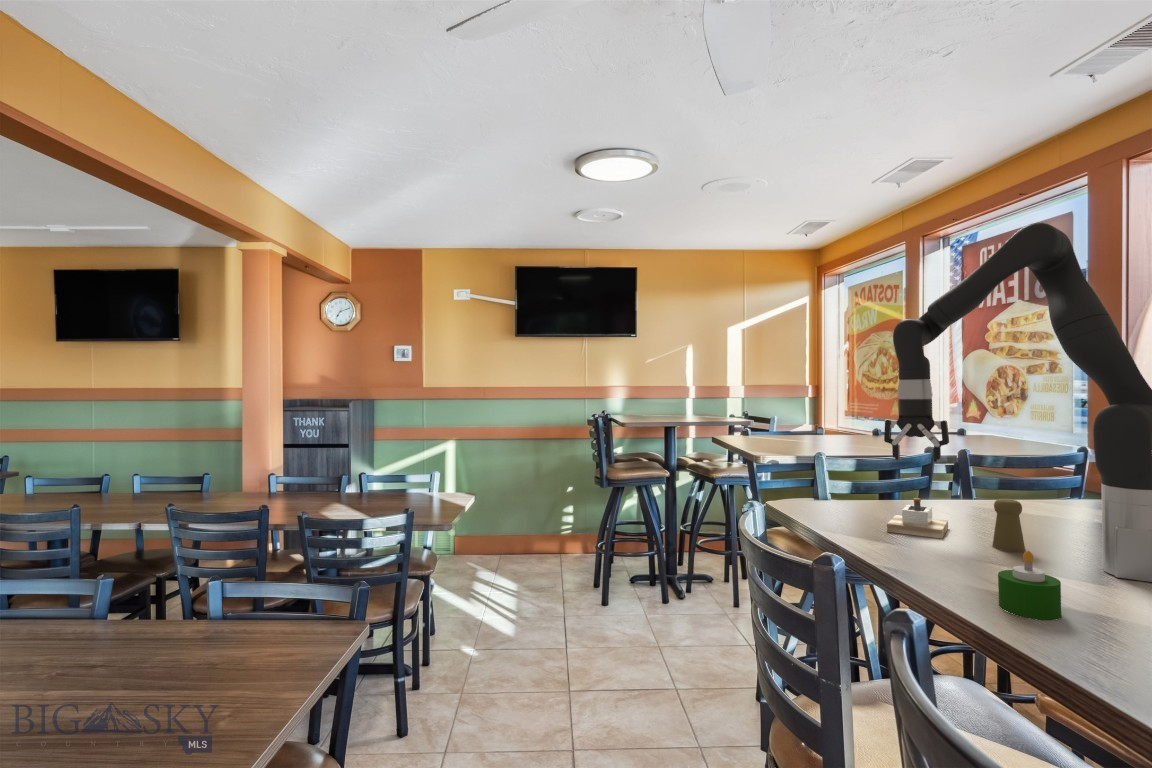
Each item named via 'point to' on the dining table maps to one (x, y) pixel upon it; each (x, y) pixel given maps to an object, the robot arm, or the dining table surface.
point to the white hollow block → (917, 515)
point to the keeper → (933, 530)
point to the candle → (1029, 591)
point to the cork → (1008, 526)
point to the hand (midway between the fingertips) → (916, 460)
